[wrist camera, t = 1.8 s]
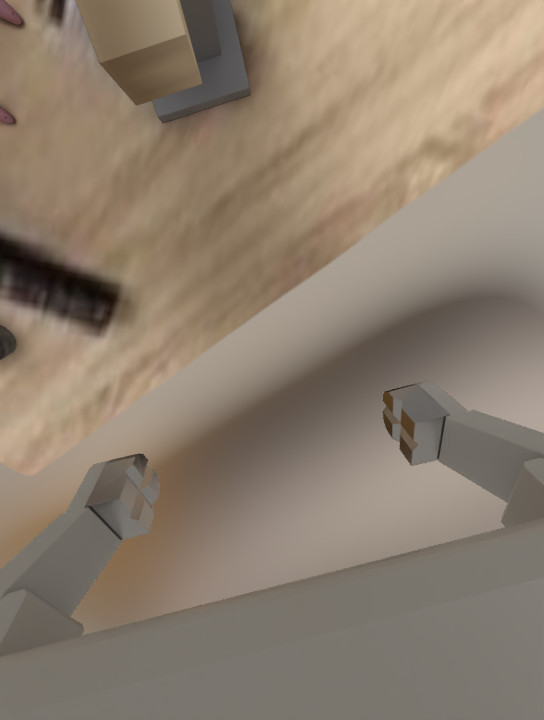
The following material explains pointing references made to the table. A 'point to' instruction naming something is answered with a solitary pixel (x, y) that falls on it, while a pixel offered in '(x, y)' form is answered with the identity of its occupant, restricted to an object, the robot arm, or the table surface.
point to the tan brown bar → (142, 45)
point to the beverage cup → (6, 342)
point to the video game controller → (8, 13)
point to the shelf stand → (209, 61)
